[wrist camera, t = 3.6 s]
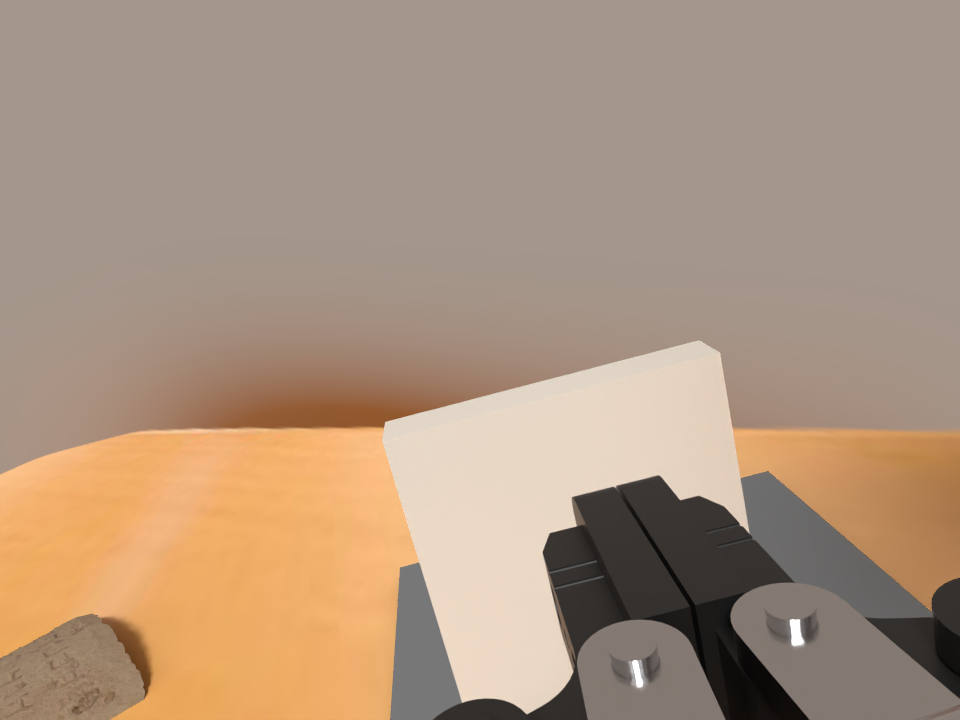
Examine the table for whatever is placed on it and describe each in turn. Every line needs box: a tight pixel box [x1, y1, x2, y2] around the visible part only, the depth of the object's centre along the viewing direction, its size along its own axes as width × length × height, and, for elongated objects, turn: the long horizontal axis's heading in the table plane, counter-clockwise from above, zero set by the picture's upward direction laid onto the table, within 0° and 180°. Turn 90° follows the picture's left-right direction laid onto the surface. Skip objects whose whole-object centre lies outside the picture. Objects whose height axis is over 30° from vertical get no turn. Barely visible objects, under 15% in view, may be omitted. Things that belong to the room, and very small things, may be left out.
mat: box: [390, 471, 933, 720], centre depth 31 cm, size 22×22×1 cm
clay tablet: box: [0, 614, 145, 720], centre depth 38 cm, size 14×10×3 cm
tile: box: [382, 341, 750, 714], centre depth 23 cm, size 10×2×14 cm, turn 94°
